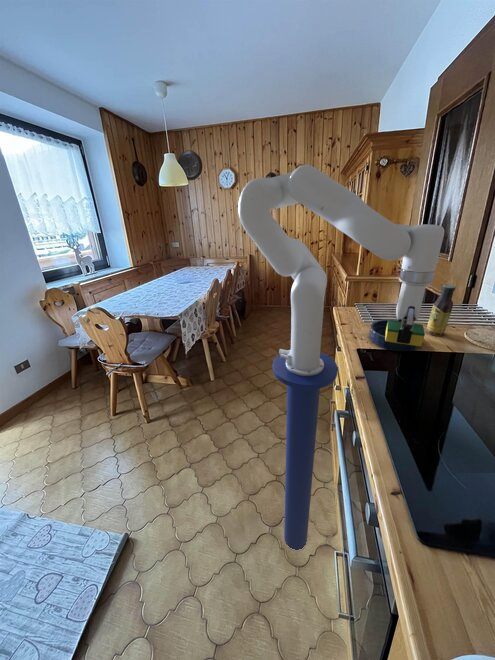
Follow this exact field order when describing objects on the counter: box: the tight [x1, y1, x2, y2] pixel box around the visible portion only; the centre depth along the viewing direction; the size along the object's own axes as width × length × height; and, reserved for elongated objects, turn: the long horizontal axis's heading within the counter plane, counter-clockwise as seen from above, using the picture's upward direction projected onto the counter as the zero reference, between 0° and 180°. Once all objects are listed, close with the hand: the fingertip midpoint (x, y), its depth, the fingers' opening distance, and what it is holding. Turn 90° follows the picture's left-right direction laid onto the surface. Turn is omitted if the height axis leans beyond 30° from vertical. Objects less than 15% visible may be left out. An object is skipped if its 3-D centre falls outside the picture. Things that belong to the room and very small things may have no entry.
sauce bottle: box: [426, 283, 457, 337], centre depth 108 cm, size 7×6×20 cm
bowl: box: [368, 319, 420, 352], centre depth 108 cm, size 18×18×5 cm
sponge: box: [385, 319, 426, 347], centre depth 80 cm, size 9×6×4 cm, turn 66°
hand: (402, 336), depth 81 cm, fingers closed on sponge, 6 cm apart
